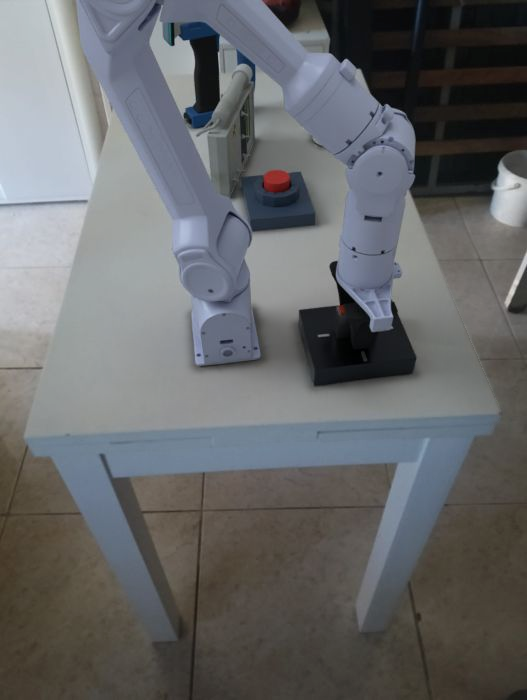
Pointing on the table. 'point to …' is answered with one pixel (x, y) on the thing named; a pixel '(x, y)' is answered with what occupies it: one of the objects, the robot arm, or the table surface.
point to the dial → (341, 324)
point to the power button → (276, 181)
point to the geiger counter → (231, 132)
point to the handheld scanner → (202, 67)
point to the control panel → (352, 350)
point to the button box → (277, 204)
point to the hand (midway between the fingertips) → (355, 330)
